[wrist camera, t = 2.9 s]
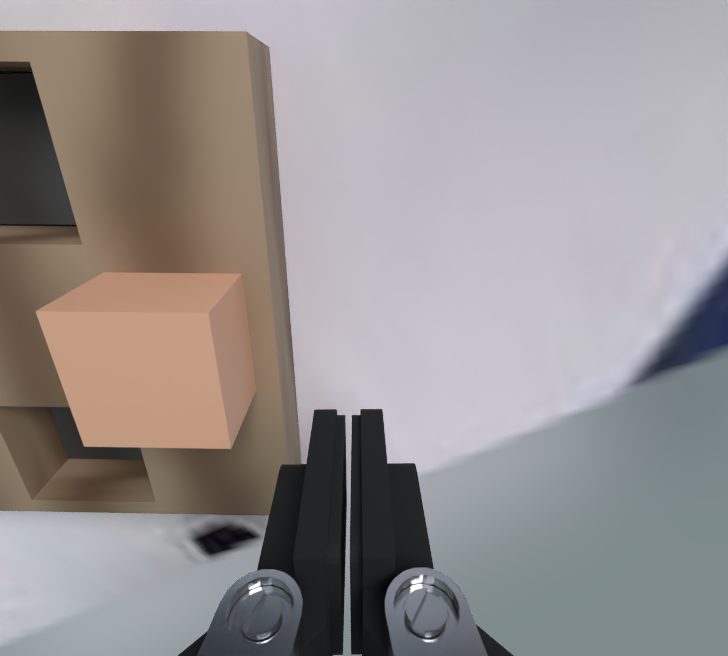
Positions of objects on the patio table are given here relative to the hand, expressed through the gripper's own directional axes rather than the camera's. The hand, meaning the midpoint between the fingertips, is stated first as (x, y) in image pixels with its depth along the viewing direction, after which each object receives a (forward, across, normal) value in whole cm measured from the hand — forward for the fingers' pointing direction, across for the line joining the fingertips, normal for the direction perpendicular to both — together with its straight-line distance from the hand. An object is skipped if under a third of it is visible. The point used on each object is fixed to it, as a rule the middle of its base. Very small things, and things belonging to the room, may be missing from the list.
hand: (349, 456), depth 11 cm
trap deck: (+10, +12, 0) cm, 16 cm away
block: (+7, +6, 0) cm, 9 cm away
